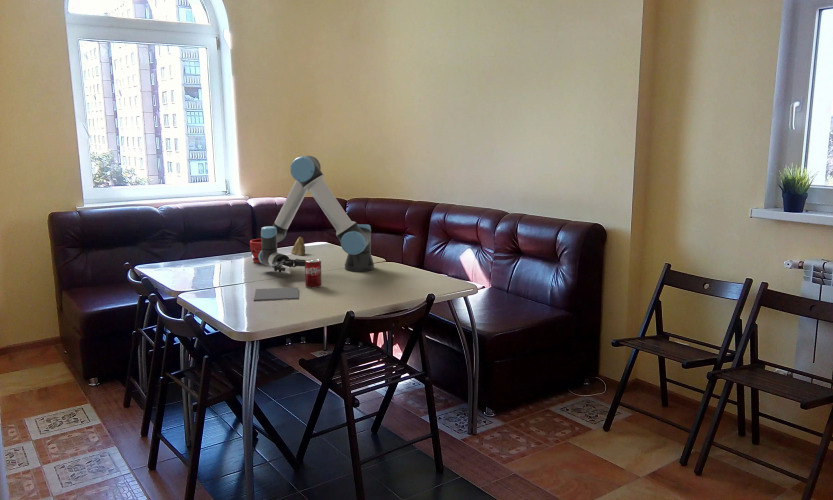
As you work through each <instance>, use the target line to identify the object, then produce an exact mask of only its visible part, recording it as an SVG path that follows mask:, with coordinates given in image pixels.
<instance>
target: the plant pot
mask: <svg viewBox="0 0 833 500" xmlns="http://www.w3.org/2000/svg"><path fill="white" fill-rule="evenodd" d="M249 248H250V252H251V256H252V257H253V258H252V261H253V262H255V263H256V264H262V263H261V262H260V261H259V259H258V255H259V253H260V252H261V251H262V244H261V238H256V239H254V238H253V239H251V240H250V241H249Z"/></svg>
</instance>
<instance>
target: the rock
mask: <svg viewBox="0 0 833 500" xmlns="http://www.w3.org/2000/svg"><path fill="white" fill-rule="evenodd" d="M305 246H306V245H305V242H304V238H303V237H301V236H298V237H297V240H296V241H295V243H294V245H293V247H292V248H291V252H290V253H291V254H293V255H296V256H297V255H299V256H305V255H306V247H305Z"/></svg>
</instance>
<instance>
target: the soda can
mask: <svg viewBox="0 0 833 500" xmlns="http://www.w3.org/2000/svg"><path fill="white" fill-rule="evenodd" d="M305 260H306V261H305V266H304V282H305V283H304V285H305V288H308V289H317V288H320V287H321V286H322V261H321V259H318V258H310V259H305Z"/></svg>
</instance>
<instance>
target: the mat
mask: <svg viewBox="0 0 833 500" xmlns="http://www.w3.org/2000/svg"><path fill="white" fill-rule="evenodd" d="M283 299H288V300H299V299H300V298H299V287H298V286H297V287H276V288H275V287H273V288H272V287H271V288H256V289H255V291H254V298H253V301H254V302H262V301H261V300H265V301H282V300H283Z"/></svg>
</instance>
